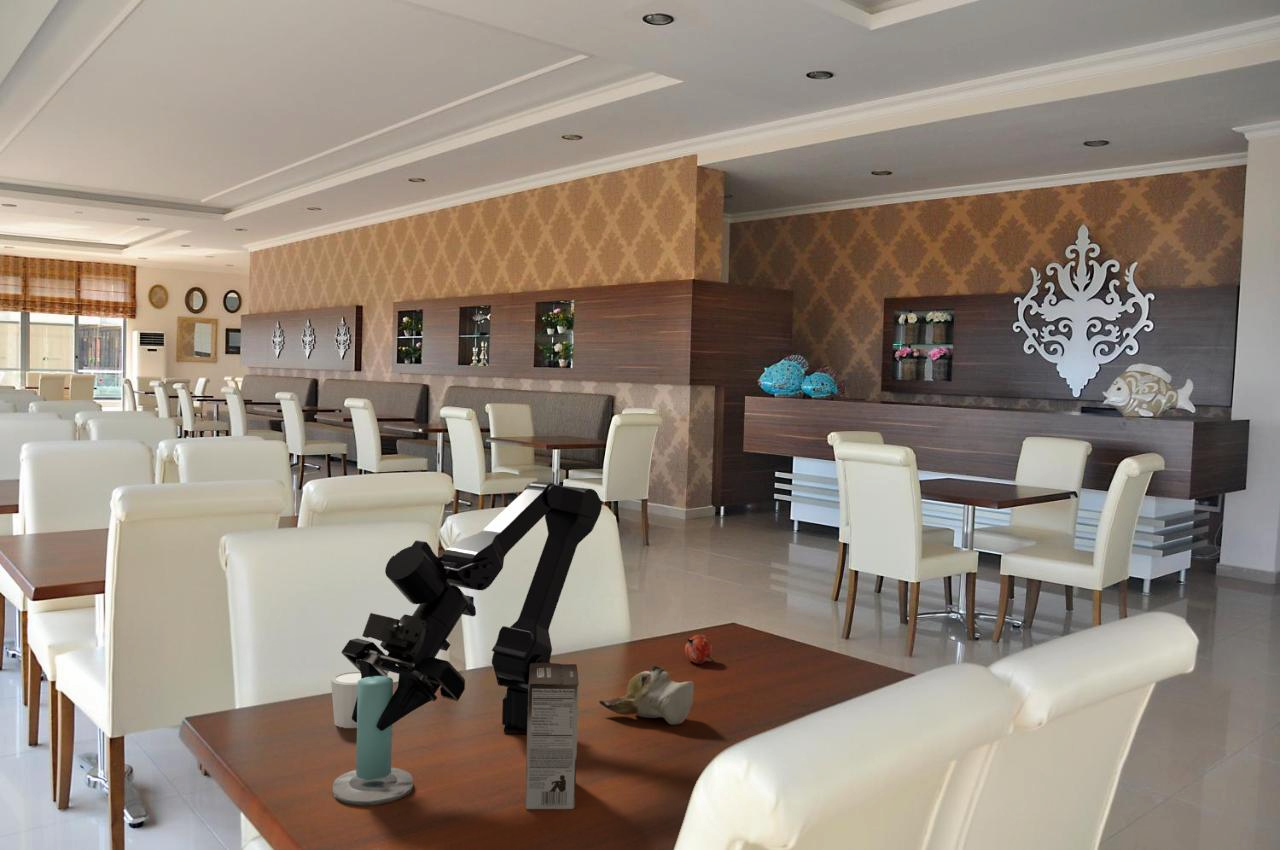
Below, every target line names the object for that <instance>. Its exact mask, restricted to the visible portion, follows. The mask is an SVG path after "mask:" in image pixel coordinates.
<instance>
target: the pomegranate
mask: <svg viewBox="0 0 1280 850" xmlns="http://www.w3.org/2000/svg"><path fill="white" fill-rule="evenodd" d="M686 642H687V643H686V644H685V647H684V652H685V656H686V657H687V659H688V660H689V661H692V662H693V663H695V664H698V665H702V664H705V663H706V661H707V658H708V659H709V660H711V661H712V662H713V661H714V659H712V657H710V656H711V655H712V653H713V652H712V651H713V645H712V641H711V640H710V638H709V637H708V636H707V635H705V634H695V635H693V636H691V637H689V638H687V639H686Z"/></svg>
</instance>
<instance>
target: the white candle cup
mask: <svg viewBox="0 0 1280 850" xmlns="http://www.w3.org/2000/svg"><path fill="white" fill-rule="evenodd" d="M360 679H361V672H360V671H351V672H350V671H348V672H343V673H338V674H336V675H334V676H332V678H330V681H331V683H330V684H331V694H332V706H333V708H332V709H333V710H332V711H333V722H334V725H335V726H337V727H338V728H342V727H343V729H357V723H356V722H354V721H353V720H352V714H353V710H354V707H355V703H356V699H357V696H358V681H359V680H360Z"/></svg>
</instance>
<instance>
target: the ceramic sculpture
mask: <svg viewBox="0 0 1280 850" xmlns="http://www.w3.org/2000/svg"><path fill="white" fill-rule="evenodd" d="M693 700H694V682H693V681H692V680H689V681H683V682H677V681H673V680H672V678H671V677H670V674H669V672H667V671H666V669H664V668H662V667H660V666H657V665H654V666H653V667H651V670H650V671H649V670H644V671H641V672H639V673H637V674H635V675H634V676H633V677H631V678H630V680H629V682H628V684H627V687H626V694H625V695H623V696H616V697H614V698H613V697H612V698H611V699H609V700H599V701H598V702H599V704H600V705H601V706H603V707H605V708H606V709H608V710H609V711H611V712H613V713H615V714H618V715H627V716H628V715H634V714H635V715H637V716H638V717H641V718H646V719H657V718H663V719H664V720H665V721H666V723H668V724H669V725H680V724H683V723H684V722H685V720H686V718H687V717H688V716H689V713H690V710H691V707H692V705H693Z"/></svg>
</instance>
